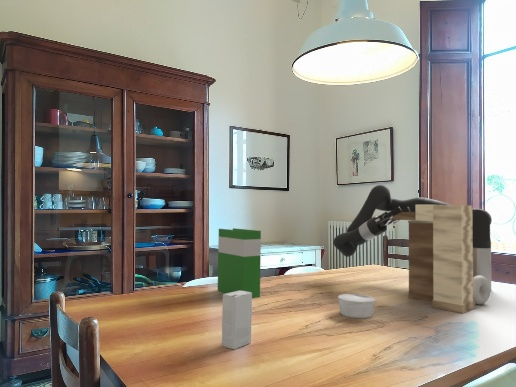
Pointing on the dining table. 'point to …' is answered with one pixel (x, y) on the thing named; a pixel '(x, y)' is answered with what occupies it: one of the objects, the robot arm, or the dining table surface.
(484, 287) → the donut
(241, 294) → the skincare box
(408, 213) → the brown tan long block
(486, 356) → the dining table surface
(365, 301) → the ramekin
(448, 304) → the wooden block
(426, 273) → the cream-topped wooden box
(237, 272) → the green cereal box
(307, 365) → the dining table surface
